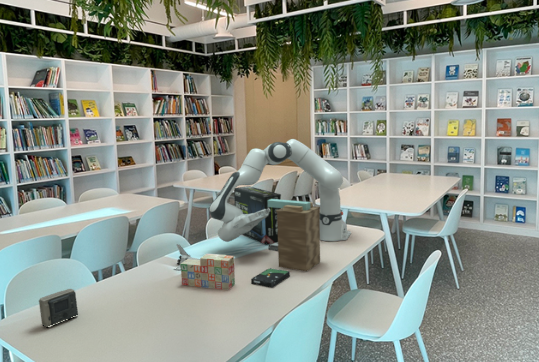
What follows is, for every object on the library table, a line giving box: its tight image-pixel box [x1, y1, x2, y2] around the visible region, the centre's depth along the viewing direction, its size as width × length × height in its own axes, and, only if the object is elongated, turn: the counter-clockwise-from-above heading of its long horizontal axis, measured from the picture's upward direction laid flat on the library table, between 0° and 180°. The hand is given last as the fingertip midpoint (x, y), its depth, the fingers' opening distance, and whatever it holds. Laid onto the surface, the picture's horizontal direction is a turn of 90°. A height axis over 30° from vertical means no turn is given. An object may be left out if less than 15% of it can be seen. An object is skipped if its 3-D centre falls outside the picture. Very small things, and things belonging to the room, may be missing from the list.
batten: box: [268, 199, 311, 210], centre depth 197 cm, size 4×20×3 cm, turn 58°
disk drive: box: [250, 267, 291, 289], centre depth 181 cm, size 10×3×15 cm
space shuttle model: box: [174, 244, 200, 271], centre depth 199 cm, size 16×25×10 cm, turn 66°
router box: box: [233, 185, 282, 246], centre depth 245 cm, size 36×11×27 cm, turn 32°
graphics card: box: [268, 242, 278, 252], centre depth 228 cm, size 10×3×25 cm
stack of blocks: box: [180, 253, 236, 291], centre depth 177 cm, size 21×6×12 cm, turn 72°
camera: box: [38, 288, 79, 328], centre depth 148 cm, size 11×6×10 cm, turn 140°
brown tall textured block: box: [276, 201, 321, 272], centre depth 196 cm, size 15×15×28 cm
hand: (263, 211), depth 205 cm, fingers open, 8 cm apart
